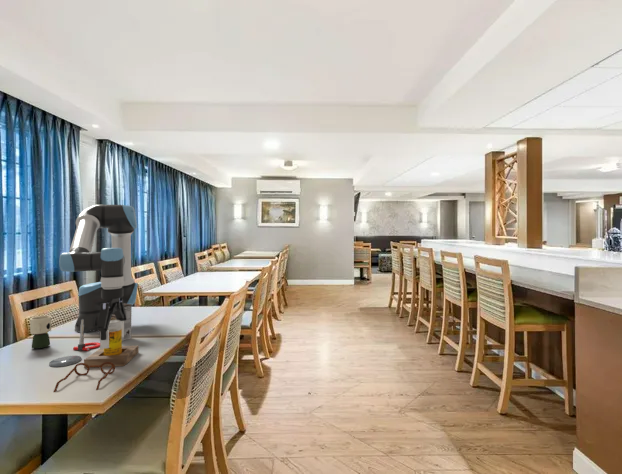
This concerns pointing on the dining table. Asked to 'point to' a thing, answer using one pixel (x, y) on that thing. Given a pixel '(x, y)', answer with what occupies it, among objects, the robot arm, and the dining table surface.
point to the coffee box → (126, 322)
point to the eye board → (112, 357)
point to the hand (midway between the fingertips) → (112, 342)
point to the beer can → (114, 338)
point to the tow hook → (81, 342)
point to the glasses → (88, 371)
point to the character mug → (40, 331)
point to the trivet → (64, 361)
